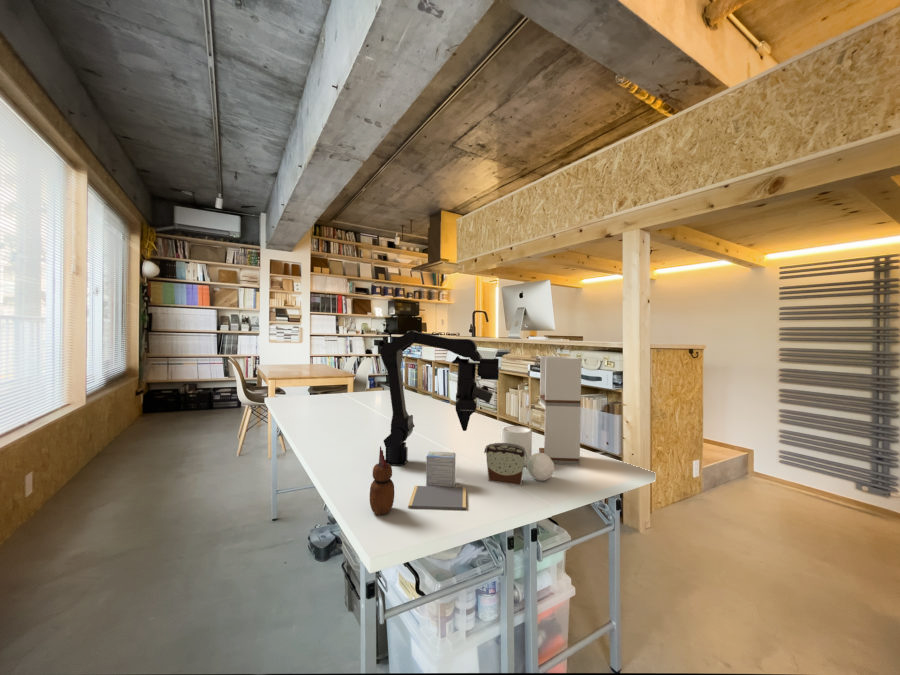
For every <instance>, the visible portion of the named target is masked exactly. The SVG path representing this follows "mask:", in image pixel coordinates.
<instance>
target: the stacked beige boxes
mask: <svg viewBox="0 0 900 675" xmlns="http://www.w3.org/2000/svg"><path fill="white" fill-rule="evenodd" d="M539 358H540V360H539V362H540V363H539V365H540V367H539V370H540V371H539V372H540V373H539V377H540V378H539V405H540V406H541V408H543V409H544V438H543V439H544V441H543V442H544V443H543V445H544V447H539V448H538V453H544V454H546V455H547V456H549V457H550V459H551V460H552V461H553V463H554V465H573V466H574V465H575V466H580V465H581V464H580V463H581V462H580V461H581V460H580V459H581V411H582V410H581V408H582V407H581V404H582V403H581V402H582V401H581V400H582V399H581V398H582V397H581V396H582V395H581V394H582V358H579V357H575V356H556V355H555V356H552V355H551V356H550V355H549V356H547V355H546V356H545V355H543V356H541V355H540V357H539Z"/></svg>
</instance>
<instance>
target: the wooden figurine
mask: <svg viewBox="0 0 900 675" xmlns="http://www.w3.org/2000/svg"><path fill="white" fill-rule="evenodd" d="M378 456H379V457H378V463H376V464H375V465H373V468H372V479H373V481H372V482H371V484H370V487H369V488H370V489H369V506H370V509H371V511H372V513H374V514H376V515H378V516H382V515H386V514H388V513H390V511H391V510H392V508H393V506H394V501H395V485H394V482H393V481H392V480H391V479H392V477H393V468H392V465H390V464H388V463H386V461H385V455H384V450H383V449H382V446H379V454H378Z"/></svg>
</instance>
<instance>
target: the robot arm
mask: <svg viewBox="0 0 900 675" xmlns="http://www.w3.org/2000/svg"><path fill="white" fill-rule="evenodd" d="M414 344H419V345H423V346H428V347H433V348H437V349H442V350H446V351H448V352H450V353H453V354H455V355H457V356H456V357H455V359H453V360H452V361H451V364H454V365H457V380H456V381H457V382H456V393H455V412H456V414H457V417H458V420H459V423H460V426H461V429H462V431H463V432H466V431H467V430H468V425H469V422H470V418H471V415H473V413H476V411H477V402H476V401H475V400H476V399H478V400H481V401H483V402H485V403H486V404H490V402H491V400H492V397H493V395H494V393H493V392H492V391H490V390H489V386H488V385H484V384H483V385H482V386H481V387H480V386H479V385H477V382H476V376H477V377H479V378H480V380H488V381H490V380H491V381H499V378H500V368H499V361H500V359H499V358H483V356H482V354H481V353H480V352H479V351H478V345H477V342H476V341H474V340H473V339H472V338H471V339H470V338H449V337H443V336H440V335H439V336H438V335H433V334H428V333H424V332H419V331H417V330H408V331H407V332H406V333H404V334H402V335H401V336H399V337H398V338H395V339H393V341H391V342H390V341H387V342H384V344H382V346H380V349H379V354H380V357H381V360H382V363H383V365H384V367H385V369H386V371H387V379H388V385H389V393H390V401H391V407H392V408H391V409H392V410H391V411H392V416H391V421H390V433H389V435H387V436H386V437H385V438H384V439H383V444H384V447H385V457H384V459H385V461H386V463H388V464H390V465H391V466H405V464H406V463H407V461H408V455H409V452H408V451H409V450H408V449H409V448H408V446H407V442H406V441H407V439H408V438H409V437H410V436H411V435H412V433H413V430H414V427H415V424H414V416H413V414H411V415H409V413H408V411H407V407H406V400H405V391H404V390H405V389H404V386H403V385H404V383H403V377H402V363H403V352H404V351H405V350H407V349H409V348H410V347H411V346H412V345H414ZM461 357H463V358H461ZM470 359H471V360H472V362H471V360H470ZM476 370H477V372H476ZM476 373H477V375H476Z"/></svg>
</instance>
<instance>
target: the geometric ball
mask: <svg viewBox="0 0 900 675" xmlns="http://www.w3.org/2000/svg"><path fill="white" fill-rule="evenodd" d="M526 466H527V468H526V469H527V471H528V473H529V475H530V476H531V477H532V478H533V479H534V480H536V481H546V480H548V479H550V478H552V475H553V474H554V472H555V464H554V463H553V461H552V460H551V459H550V457H549V456H547V455H546V454H544V453H539V452H537V453H534V454H532V456H530V458H529V460H528V462H527V465H526Z"/></svg>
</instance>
